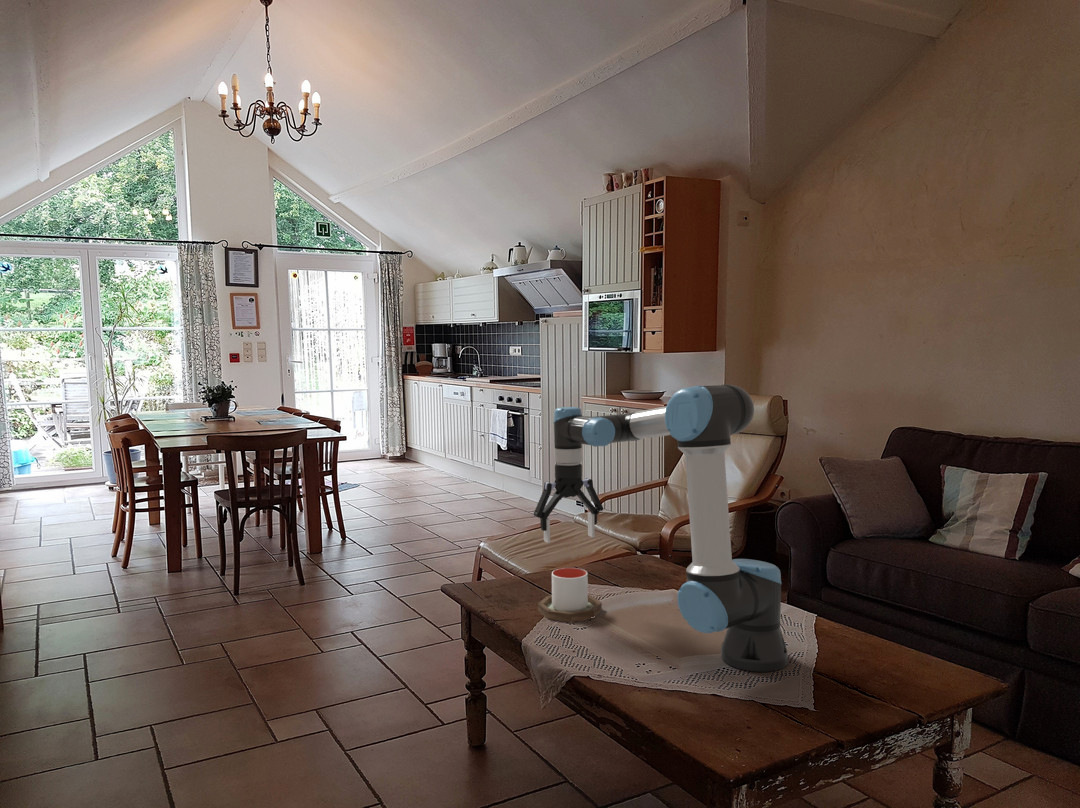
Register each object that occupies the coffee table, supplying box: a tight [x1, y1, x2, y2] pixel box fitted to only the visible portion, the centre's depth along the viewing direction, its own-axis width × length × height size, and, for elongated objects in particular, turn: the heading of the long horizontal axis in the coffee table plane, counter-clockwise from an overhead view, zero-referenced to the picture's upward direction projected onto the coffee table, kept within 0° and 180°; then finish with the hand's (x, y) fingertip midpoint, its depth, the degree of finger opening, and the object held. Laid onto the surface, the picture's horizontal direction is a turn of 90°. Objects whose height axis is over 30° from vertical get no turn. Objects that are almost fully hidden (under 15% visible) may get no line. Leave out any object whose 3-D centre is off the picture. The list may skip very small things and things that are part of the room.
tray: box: [537, 594, 603, 623], centre depth 214 cm, size 16×16×2 cm
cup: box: [551, 567, 589, 612], centre depth 213 cm, size 10×10×10 cm
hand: (569, 539), depth 212 cm, fingers open, 13 cm apart
